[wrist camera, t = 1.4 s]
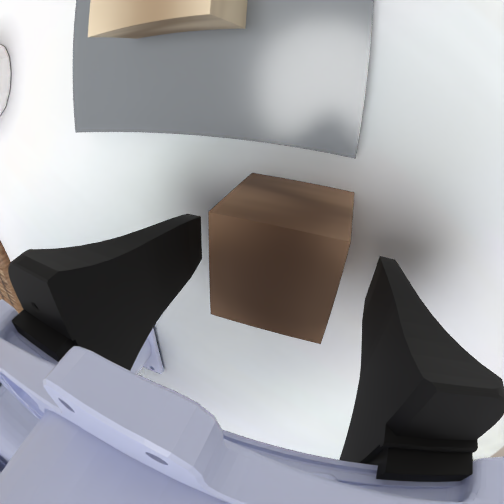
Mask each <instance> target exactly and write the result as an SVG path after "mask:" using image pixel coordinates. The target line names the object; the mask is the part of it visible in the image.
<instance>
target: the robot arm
mask: <svg viewBox="0 0 504 504" xmlns="http://www.w3.org/2000/svg"><path fill="white" fill-rule="evenodd" d="M201 259H202V247H201V217H200V216H195V215H190V214H186V215H181V216H178V217H175V218H172V219H169V220H166V221H164V222H161V223H158V224H155V225H153V226H150V227H147V228H144V229H142V230H139V231H136V232H133V233H130V234H127V235H124V236H121V237H117V238H114V239H110V240H106V241H102V242H97V243H92V244H87V245H82V246H75V247H68V248H57V249H29V250H27V251H25V252H24V253H22V254H21V255H20V256H18V257H17V258H16V259H14V260H13V261H12V262H11V263H10V264H9V267H8V274H9V278H10V281H11V284H12V286H13V288H14V291H15V293H16V295H17V297H18V299H19V301H20V304H21V306H22V308H23V310H22V311H21V312H20V313H18V312H17V311H16V310H15V309H14V308H13V307H12V306H11V305H10V304H8V303H7V302H6V301H4V300H2V299H1V300H0V504H504V457H495V458H481V459H477V460H474V461H473V460H472V452H475V451H476V450H477V448H478V444H477V439H478V438H479V437H480V436H482V435H483V434H484V433H485V432H486V431H488V430H489V429H490V428H491V427H492V426H494V425H495V424H496V423H497V422H498V421H499V420H500V419H501V417H502V416H503V414H504V386H503V381H502V379H501V378H500V377H499V376H497V375H496V374H494V373H493V372H492V371H490V370H489V369H487V368H486V367H485V366H483V365H482V364H481V363H479V362H478V361H477V360H476V359H475V358H474V357H472V356H471V355H470V354H469V353H468V352H467V351H466V350H464V349H463V348H462V347H461V346H460V345H459V344H458V343H457V342H456V341H455V340H454V339H453V338H452V337H451V336H450V335H449V334H448V333H447V332H446V331H445V329H444V328H443V327H442V326H441V325H440V324H439V322H438V321H437V320H436V319H435V318H434V316H433V315H432V314H431V313H430V311H429V310H428V309H427V307H426V306H425V305H424V303H423V302H422V300H421V299H420V298H419V296H418V295H417V293H416V292H415V290H414V289H413V287H412V286H411V284H410V282H409V281H408V279H407V278H406V276H405V274H404V273H403V271H402V270H401V268H400V267H399V265H398V263H397V262H396V261H395V260H394V259H390V258H385V257H381V256H380V257H379V260H378V263H377V266H376V269H375V272H374V275H373V278H372V281H371V284H370V287H369V290H368V292H367V295H366V298H365V305H364V312H363V319H362V353H361V371H360V379H359V385H358V390H357V395H356V400H355V405H354V409H353V414H352V418H351V422H350V426H349V430H348V433H347V437H346V441H345V444H344V447H343V450H342V454H341V457H340V460H336V459H331V458H325V457H320V456H315V455H311V454H306V453H302V452H297V451H293V450H289V449H285V448H281V447H277V446H274V445H270V444H266V443H263V442H259V441H256V440H253V439H249V438H246V437H243V436H240V435H237V434H234V433H231V432H228V431H225V430H222V429H221V427H220V425H219V423H218V422H217V420H216V418H215V417H214V415H212V414H211V413H210V412H208V411H207V410H206V409H205V408H203V407H202V406H201V405H200V404H198V403H197V402H195V401H193V400H191V399H189V398H187V397H185V396H183V395H182V394H180V393H178V392H176V391H174V390H171V389H169V388H167V387H164V386H162V385H160V384H157V383H155V382H153V381H151V380H148V379H146V378H144V377H142V376H140V375H138V372H139V371H140V369H141V368H142V367H145V368H147V369H149V370H152V371H154V372H156V373H159V374H161V373H162V372H163V371H164V369H163V365H162V361H161V357H160V353H159V349H158V345H157V341H156V337H155V333H154V328H153V327H154V325H155V324H156V322H157V320H158V319H159V318H160V316H161V315H162V313H163V312H164V311H165V309H166V308H167V307H168V306H169V304H170V303H171V302H172V301H173V299H174V298H175V297H176V296H177V294H178V293H179V292H180V291H181V289H182V288H183V287H184V285H185V284H186V283H187V282H188V280H189V279H190V278H191V276H192V275H193V273H194V271H195V270H196V268H197V266H198V264H199V263H200V261H201Z"/></svg>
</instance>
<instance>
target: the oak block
mask: <svg viewBox="0 0 504 504" xmlns="http://www.w3.org/2000/svg"><path fill="white" fill-rule="evenodd" d="M246 13H247V0H91V1H90V12H89V25H88V37H113V38H136V39H137V38H143V37H149V36H155V35H162V34H170V33H178V32H187V31H199V30H214V29H245V27H246Z"/></svg>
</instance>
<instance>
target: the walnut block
mask: <svg viewBox="0 0 504 504" xmlns="http://www.w3.org/2000/svg"><path fill="white" fill-rule="evenodd" d="M353 202H354V192H350V191H345V190H341V189H336V188H331V187H326V186H321V185H316V184H311V183H306V182H301V181H296V180H290V179H285V178H279V177H273V176H268V175H262V174H256V173H252V174H250V175H249V176H248V177H247V178H246V179H245V180H244V181H242V182H241V183H240V184H239V185H238V186H237V187H236V188H234V189H233V190H232V191H231V192H230V193H229V194H228V195H227V196H226V197H224V198H223V199H222V200H221V201H220V202H219V203H218V204H217V205H216V206H214V207H213V208H212V209H211V210H210V211H209V276H210V308H211V314H212V315H216V316H219V317H222V318H226V319H229V320H232V321H236V322H239V323H243V324H246V325H250V326H253V327H257V328H261V329H264V330H268V331H272V332H275V333H279V334H283V335H287V336H291V337H295V338H298V339H302V340H306V341H311V342H315V343H319V344H321V341H322V338H323V335H324V332H325V329H326V326H327V323H328V320H329V317H330V313H331V310H332V307H333V304H334V300H335V297H336V294H337V290H338V287H339V283H340V280H341V276H342V273H343V269H344V265H345V262H346V258H347V254H348V250H349V246H350V242H351V231H352V218H353Z"/></svg>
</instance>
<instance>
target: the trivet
mask: <svg viewBox="0 0 504 504" xmlns="http://www.w3.org/2000/svg"><path fill="white" fill-rule="evenodd" d="M10 263H11V262H10V260H9V258H8V255H7V253H6V251H5V249H4V247H3V245H2V243H1V241H0V300H1V299H2V300H4V301H6V302H7V303H8V304H10V305H11V306H12V307H13V308H14V309H15V310H16V311H17V312H18V313H20V312H21V311H22V310H23V308H22V306H21V304H20V301H19V299H18V297H17V295H16V293H15V291H14V288H13V286H12V284H11V281H10V278H9V274H8V267H9V264H10Z"/></svg>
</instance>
